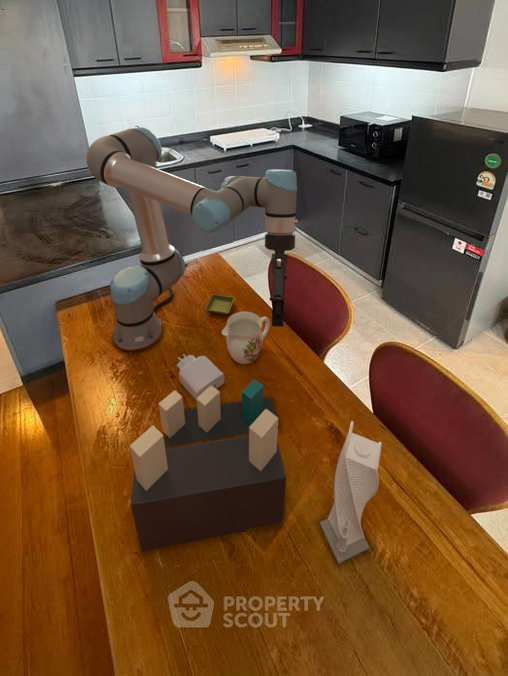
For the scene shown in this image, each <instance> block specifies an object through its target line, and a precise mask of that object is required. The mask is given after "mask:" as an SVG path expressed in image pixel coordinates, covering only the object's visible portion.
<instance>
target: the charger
mask: <svg viewBox="0 0 508 676" xmlns="http://www.w3.org/2000/svg"><path fill="white" fill-rule="evenodd" d="M182 357H183V358H181V357H180V356H178V357H177V360H179V361H178V363H177V364H176V367H177V368H178V369H179V371H178V379H179V383H180V384H181V385H182V386H183V387H184V388H185V389H186V391H187V392H188V393H189V394H190V395H191V397H192V398H194V400H195V401H196V402H197V399H196V398H197V397H199V396H200V395H201V394H202V393H203V392H204V391H205V390H206V389H207V388H209V387H210V386H211V385H212V386H213V387H214V388H216V389H217V390H218V388H220V387H221V386H222V385H223V384H225V373H223V372H222V371H221V370H220V369H219V368H218V367H217V366H216V365H215V364H214V363H213V362H212V361H211V360H210V359H209V358H208V357H207V356H206V355H200V356H197V357H195V356H194V355H193V354H189V355H186V354H185V353H183V354H182Z"/></svg>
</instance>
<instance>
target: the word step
mask: <svg viewBox="0 0 508 676" xmlns="http://www.w3.org/2000/svg"><path fill="white" fill-rule="evenodd" d="M278 426H279V417H278V416H277V415H276V416H275V415H274V414H272V413H271V412H270V411H268V410H267V409H265V410H264V411H263V413H262V414H261V415H260V416H259V417H258V418H257V419H256V420H255V421H254V422H253V424H252V425H251V426H250V427H249V434H248V435H246V436H245V435H244V436H239V437H233V438H227V439H219V440H213V441H206V442H201V443H194V444H189V445H187V444H186V445H182V446H181V445H180V446H175V447H167V448H166V446H165V439H164V435H163V434H162V433H161V431H160V430H158V429H157V428H156V427H155V426H154V425H151V426H150V427H149V428H147V430H146V431H145V432H143V433H142V434H141V435H139V437H138V438H137V439H135V440H134V441H133V442H132V443H131V444H130V445H129V449H130V454H131V458H132V464H133V468H134V469H133V476H132V477H133V479H132V486H131V487H132V488H131V498H130V507H131V512H132V517H133V521H134V525H135V529H136V533H137V538H138V541H139V547H140V550H141V552H144V551H150V550H155V549H160V548H165V547H172V546H176V545H182V544H187V543H191V542H196V541H201V540H208V539H213V538H217V537H222V536H223V537H224V536H228V535H233V534H239V533H244V532H246V530H249V529H255V528H260V527H266V526H271V525H275V524H282V523H283V522H284V512H285V511H284V509H285V498H286V484H287V476H286V475H287V474H286V471H285V467H284V463H283V459H282V455H281V454H282V453H281V450H280V446H279V442H278V434H279V429H278Z"/></svg>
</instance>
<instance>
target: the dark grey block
mask: <svg viewBox="0 0 508 676" xmlns="http://www.w3.org/2000/svg"><path fill="white" fill-rule="evenodd" d="M196 399H197V401H196V407H194V408H188V409H185V407H184V398H183V396H182V395H181V394H180V393H178V391H177V390H175V389H174V390H173V391H172V392H170V393H169V394H168V395H167V396H166V397H165V398H163V399H162V400H161V401H160V402H158V410H159V417H160V424H161V431H162V432H163V434H165V441H164V445H165V447H171V446H177V445H183V444H189V443H197V442H203V441H210V440H215V439H216V440H217V439H223V438H229V437H234V436H235V437H236V436H241V435H242V436H243V435H247V434H248V435H249V427H250V425H249V424H247V423H246V422H245V421H244V420H243V419H242V401H238V402H237V401H236V402H229V403H223V404H221V391H219V390H218V388H217V389H216V388H214V387H213V386H212V385H211V386H210V387H209V388H207V389H206V390H205V391H204V392H203V393H202V394H201V395H200V396H199V397H197V398H196ZM265 409H267V410H268V411H270V412H271V413H272V414H274V415H275V416H276V417H277V414H276V410H275V407H274V402H273V398H272V397H265V398H264V397H263V411H264V410H265ZM278 430H280V427H279V425H278Z"/></svg>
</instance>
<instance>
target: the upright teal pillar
mask: <svg viewBox="0 0 508 676" xmlns="http://www.w3.org/2000/svg"><path fill="white" fill-rule="evenodd" d="M264 387H265V385H264V384H262V383H261V382H259V381H258V380H256V379H253V380H252V381H251V382H250V383H249V384H248V385H247V386H246V387H245V388H244V389H243V390H242V391H241V402H242V419H243V420H244V421H245V422H246V423H247V424H249V425H250V426H251V425H252V424H253V422H254V421H255V420H256V419H257V418H258V417H259V416H260V415H261V414H262V413H263V399H264V393H265V392H264V389H265V388H264Z"/></svg>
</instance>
